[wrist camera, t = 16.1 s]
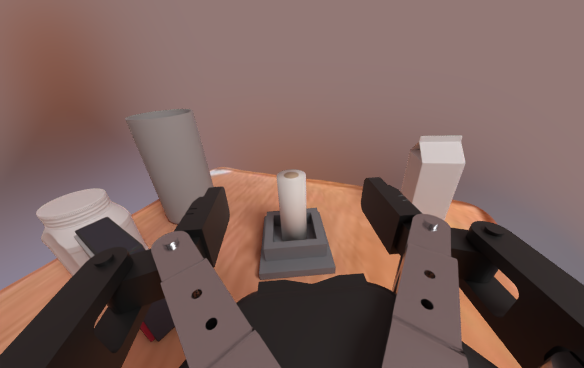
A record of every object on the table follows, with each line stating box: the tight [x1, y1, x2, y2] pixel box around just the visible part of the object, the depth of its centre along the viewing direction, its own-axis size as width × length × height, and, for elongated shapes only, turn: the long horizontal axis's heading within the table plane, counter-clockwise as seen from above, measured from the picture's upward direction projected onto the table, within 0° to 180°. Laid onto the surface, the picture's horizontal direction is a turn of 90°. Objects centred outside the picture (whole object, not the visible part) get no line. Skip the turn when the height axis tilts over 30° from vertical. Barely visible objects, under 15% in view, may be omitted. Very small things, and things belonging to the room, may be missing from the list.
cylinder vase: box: [125, 109, 213, 224], centre depth 49 cm, size 12×12×25 cm
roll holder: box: [259, 208, 335, 280], centre depth 42 cm, size 13×16×4 cm
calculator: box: [74, 217, 175, 342], centre depth 28 cm, size 11×4×15 cm, turn 57°
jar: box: [36, 189, 149, 276], centre depth 36 cm, size 12×10×15 cm
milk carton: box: [401, 136, 465, 220], centre depth 43 cm, size 7×7×19 cm
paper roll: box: [277, 169, 307, 241], centre depth 39 cm, size 5×5×14 cm
